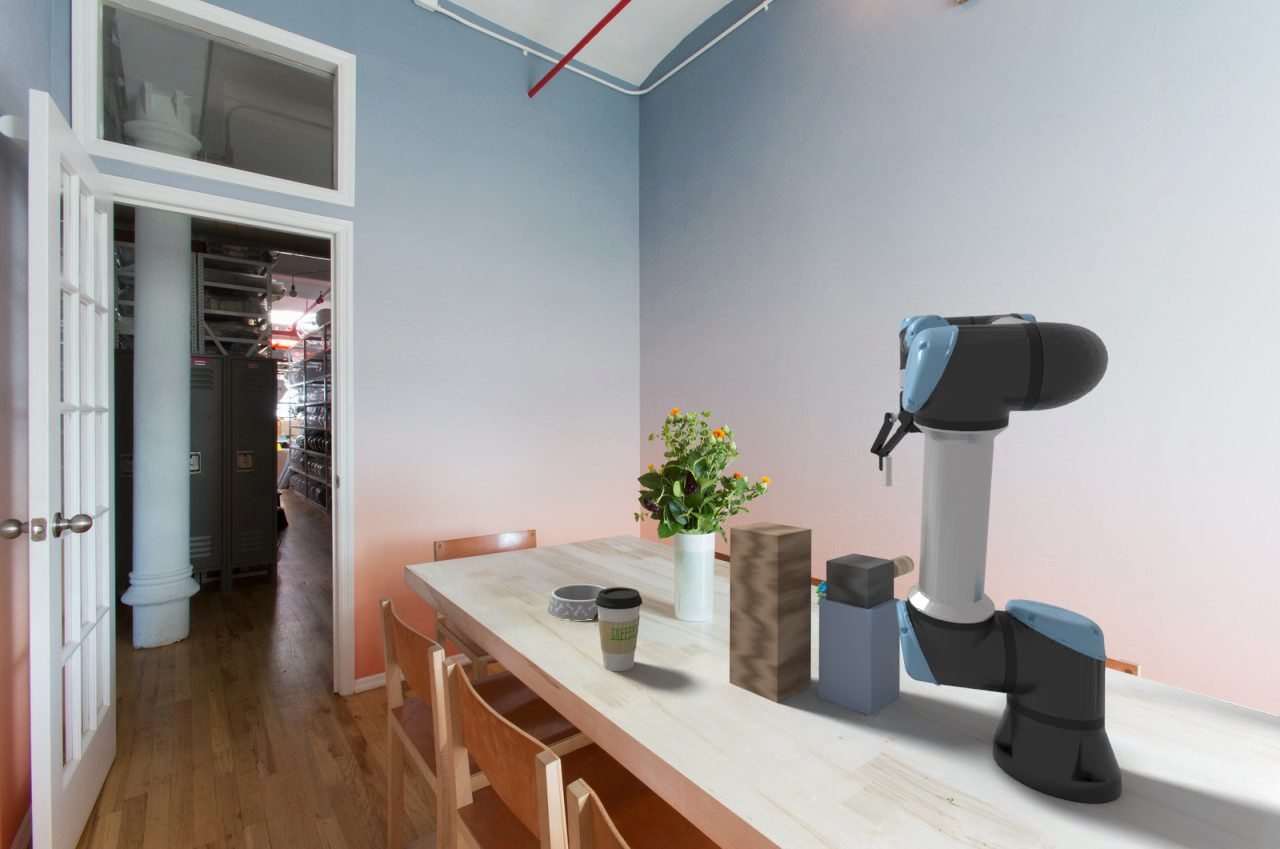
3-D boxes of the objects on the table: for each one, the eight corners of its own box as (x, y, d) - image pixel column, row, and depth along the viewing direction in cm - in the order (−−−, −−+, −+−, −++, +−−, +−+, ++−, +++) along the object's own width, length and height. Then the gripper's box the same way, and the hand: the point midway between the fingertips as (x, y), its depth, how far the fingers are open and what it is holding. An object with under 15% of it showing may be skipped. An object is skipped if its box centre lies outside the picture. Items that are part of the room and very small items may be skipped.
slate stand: (899, 697, 106) (899, 599, 106) (870, 716, 99) (871, 611, 99) (848, 679, 114) (849, 587, 114) (818, 696, 106) (819, 598, 107)
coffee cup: (636, 677, 114) (637, 601, 114) (588, 672, 116) (589, 597, 116) (646, 657, 124) (646, 587, 124) (601, 654, 126) (602, 585, 126)
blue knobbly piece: (862, 601, 160) (846, 579, 157) (856, 619, 157) (840, 598, 153) (826, 597, 169) (810, 577, 165) (820, 615, 165) (803, 595, 161)
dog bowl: (627, 610, 157) (627, 590, 157) (576, 627, 144) (577, 605, 144) (584, 597, 169) (584, 579, 169) (534, 612, 155) (534, 592, 155)
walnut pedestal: (810, 685, 111) (811, 529, 111) (777, 702, 104) (777, 535, 104) (763, 667, 119) (764, 522, 119) (729, 682, 112) (730, 527, 112)
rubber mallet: (925, 585, 116) (925, 550, 116) (867, 609, 100) (867, 568, 100) (886, 577, 122) (886, 544, 122) (826, 598, 106) (826, 560, 106)
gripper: (989, 387, 117) (989, 492, 117) (871, 392, 136) (870, 483, 135) (976, 385, 112) (976, 495, 112) (855, 391, 131) (854, 485, 130)
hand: (918, 488), depth 124 cm, fingers open, 13 cm apart
